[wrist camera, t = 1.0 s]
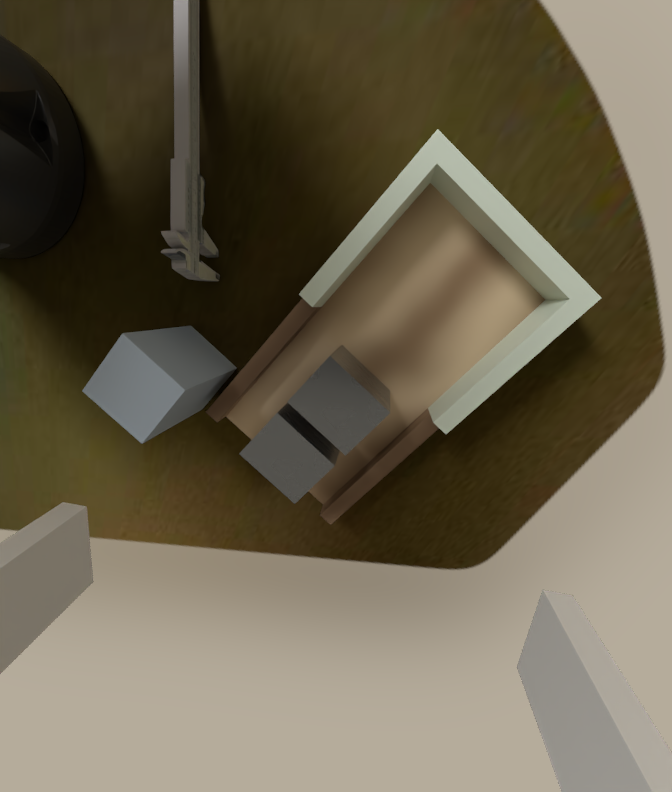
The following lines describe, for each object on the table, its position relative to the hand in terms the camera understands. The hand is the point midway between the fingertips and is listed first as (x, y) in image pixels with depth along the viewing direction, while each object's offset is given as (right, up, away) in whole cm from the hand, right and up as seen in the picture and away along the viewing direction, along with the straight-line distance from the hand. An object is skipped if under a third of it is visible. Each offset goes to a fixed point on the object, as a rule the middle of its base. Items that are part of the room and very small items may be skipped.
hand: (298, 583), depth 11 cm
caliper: (-8, +24, +16) cm, 30 cm away
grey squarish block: (-1, +3, +19) cm, 19 cm away
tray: (+8, +13, +16) cm, 22 cm away
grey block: (-11, +8, +20) cm, 24 cm away
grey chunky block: (+2, +6, +18) cm, 19 cm away
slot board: (+4, +8, +18) cm, 20 cm away
